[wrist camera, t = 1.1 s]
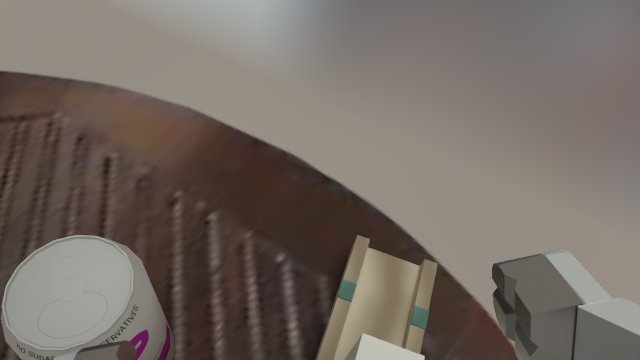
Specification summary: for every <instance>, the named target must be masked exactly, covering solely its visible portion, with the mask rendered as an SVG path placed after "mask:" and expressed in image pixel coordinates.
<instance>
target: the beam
mask: <svg viewBox="0 0 640 360" xmlns="http://www.w3.org/2000/svg"><path fill="white" fill-rule="evenodd" d="M369 241H370V239H368V238H365V237H362V236H359V235H357V238H356V240H355V242H354V245H353V247H352V249H351V252H350V255H349V258H348V261H347V264H346V267H345V270H344V273H343V276H342V279H341V282H340V286H339V289H338V292H337V295H336V298H335V301H334V304H333V307H332V310H331V313H330V316H329V319H328V322H327V325H326V328H325V331H324V334H323V338H322V341H321V344H320V347H319V350H318V353H317V356H316V359H315V360H344V359H345V358H346V357H347V355H348V354H349V352H350V351H351V349H352V348H353V346H354V345H355V343H356V342H357V341H358V339H359V338H360V336H361V335H362V333H364V334H367V335H370V336H372V337H375V338H378V339H380V340H383V341H386V342H388V343H391V344H394V345H396V346H399V347H402V348H404V349H407V350H409V351H412V352H415V353H417V354H420V351H421V346H422V341H423V336H424V331H425V329H426V325H427V320H428V314H429V311H428V310H429V305H430V300H431V295H432V289H433V284H434V279H435V274H436V269H437V263H434V262H432V261H429V260H426V259H424V261H423V262H422V263H421V265H420V266H418V265H415V264H413V263H410V262H407V261H404V260H402V259H399V258H396V257H393V256H391V255H388V254H385V253H382V252H379V251H377V250H374V249H371V248H368V245H369Z"/></svg>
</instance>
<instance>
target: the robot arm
mask: <svg viewBox="0 0 640 360" xmlns="http://www.w3.org/2000/svg"><path fill="white" fill-rule="evenodd" d="M492 278H493V280H494V282H495V283H496V285H497V289H496V290H495V291H494V293H493V303H494V308H495V313H496V317H497V320H498V322H499V324H500V327H501V329H502V331H503V332H504V334H505V336H506V337H507V338H509V339H511V340H513V341H514V342H515V354H516V356H517V358H518V359H519V360H640V306H639V305H637V304H635V303H632V302H630V301H627V300H625V299H623V298H615V299H613V298H612V297H611V296H610V295H609V294H608V293H607V292H606V291H605V290H604V289H603V288H602V287H601V285H600V284H599V283H598V282H597V281H596V280H595V279H594V278H593V277H592V276H591V275H590V274H589V273H588V272H587V270H586V269H585V268H584V267H583V266H582V265H581V264H580V263H579V262H578V261H577V260H576V259H575V258H574V256H573V255H572V254H571V253H570V252H569V251H568V250H566V249H564V248H562V249H557V250H553V251H549V252H544V253H540V254H536V255H532V256H527V257H522V258H518V259H513V260H508V261H504V262H499V263H495V264H493V268H492ZM136 353H137V351H136V349H135V347H134V346H133V344H132V343H131V341H125V340H124V341H119V342H113V343H108V344H102V345H97V346H91V347H86V348H82V349H78V350H72V351H66V352H61V353H60V354H58V355H57V356H56V357H55V358H54V359H53V360H134V359H135V356H136Z"/></svg>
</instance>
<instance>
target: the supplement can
mask: <svg viewBox="0 0 640 360" xmlns="http://www.w3.org/2000/svg"><path fill="white" fill-rule="evenodd" d="M1 323H2V327H3V331H4V336H5V340H6V342H7V343H8V344H9V346H10V347H11V348H12V349H13V350H14V351H15V352H16V354H17V355H18V356H19V357H20V358H21V359H22V360H53V359H54V358H55V357H56V356H57V355H58V354H60V353H61V352H66V351H72V350H78V349H82V348H86V347H91V346H97V345H102V344H108V343H113V342H119V341H124V340H125V341H131V343H132V344H133V346H134V347H135V349H136V351H137V353H136V356H135V359H134V360H172V359H173V356H174V337H173V334H172V332H171V329H170V327H169V325H168V322H167V320H166V317H165V315H164V313H163V310H162V308H161V306H160V303H159V301H158V299H157V296H156V294H155V292H154V289H153V287H152V285H151V282H150V280H149V278H148V275H147V273H146V270H145V268H144V266H143V263H142V261H141V259H139V258H138V257H137V256H136V255H135V254H134V253H133V252H132V251H131V250H130V249H129V248H128V247H127V246H124V245H122V244H119V243H117V242H114V241H112V240H109V239H104V238H101V237H98V236H85V235H74V236H70V237H66V238H62V239H58V240H54V241H52V242H50V243H48V244H47V245H45V246H43V247H41V248H39V249H37V250H35V251H34V252H33V253H32V254H31V255H29V256H28V257H27V258H26V259H25V260H24V261H23V262H22V263H21V264H20V265H19V266H18V267H17V268H16V270H15V271H14V273H13V275H12V276H11V278H10V280H9V281H8V283H7V285H6V287H5V292H4V297H3V303H2V315H1Z"/></svg>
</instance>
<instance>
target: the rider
mask: <svg viewBox="0 0 640 360" xmlns="http://www.w3.org/2000/svg"><path fill="white" fill-rule="evenodd" d="M424 358H425V356H423V355H420V354H417V353H415V352H412V351H409V350H407V349H404V348H402V347H399V346H396V345H394V344H391V343H388V342H386V341H383V340H380V339H378V338H375V337H372V336H370V335H367V334H364V333H362V335H361V336H360V338H359V339H358V341H357V342H356V343H355V345H354V346H353V348H352V349H351V351H350V352H349V354H348V355H347V357H346V358H345V359H344V360H424Z"/></svg>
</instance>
